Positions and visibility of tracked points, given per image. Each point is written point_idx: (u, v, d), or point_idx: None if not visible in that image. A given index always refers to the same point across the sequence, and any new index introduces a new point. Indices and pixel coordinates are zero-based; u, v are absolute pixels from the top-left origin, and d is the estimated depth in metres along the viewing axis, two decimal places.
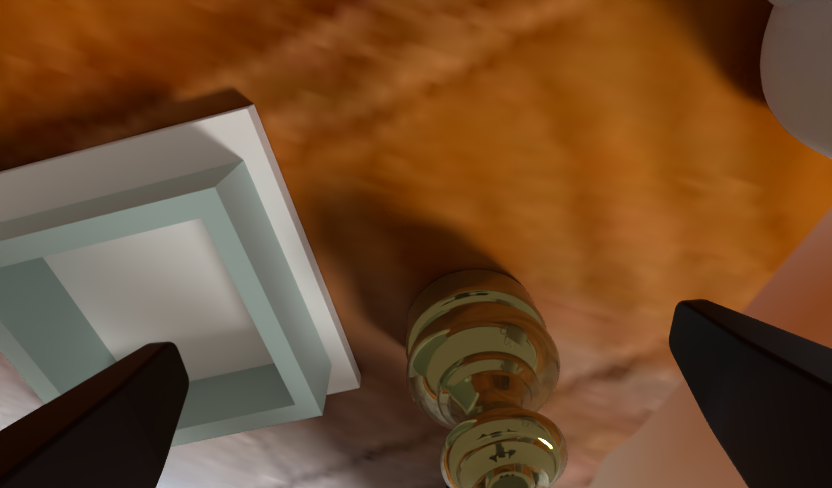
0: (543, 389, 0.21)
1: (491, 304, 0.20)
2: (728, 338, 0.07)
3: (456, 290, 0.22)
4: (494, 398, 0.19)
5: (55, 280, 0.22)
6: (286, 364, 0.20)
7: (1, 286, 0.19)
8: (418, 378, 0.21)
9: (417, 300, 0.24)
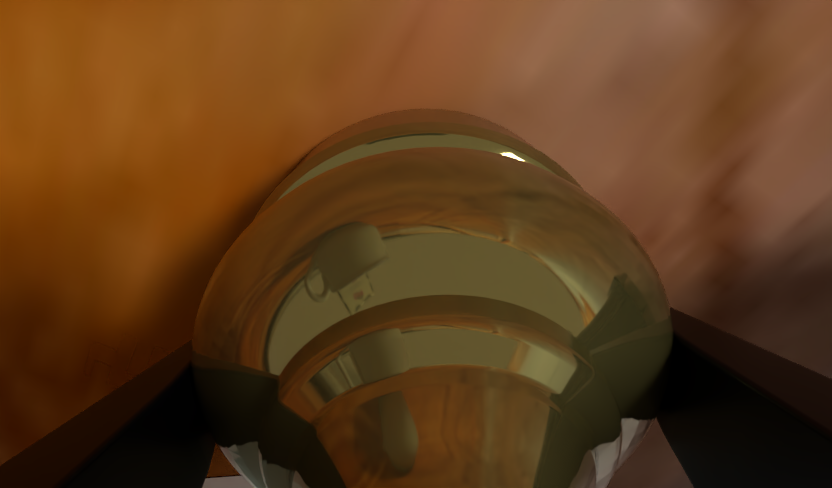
0: (491, 265, 0.05)
1: None
2: (676, 342, 0.07)
3: None
4: None
5: None
6: None
7: None
8: None
9: None
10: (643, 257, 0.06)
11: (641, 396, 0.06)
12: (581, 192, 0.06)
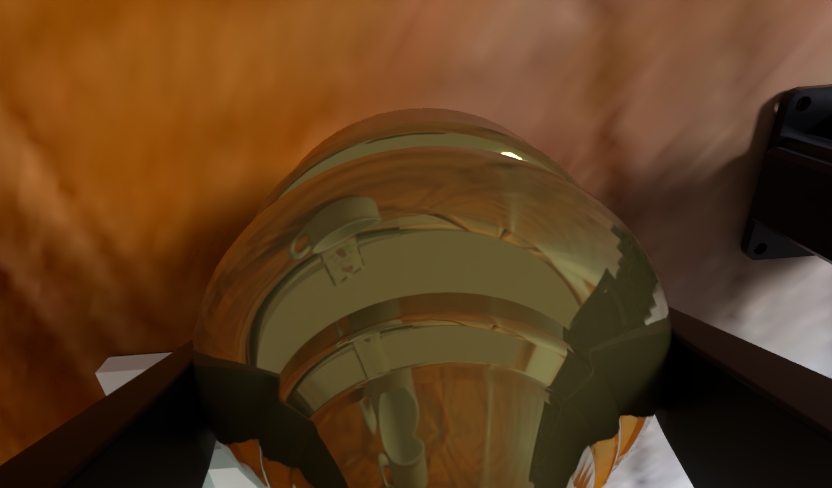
0: (490, 263, 0.05)
1: None
2: (676, 342, 0.07)
3: None
4: None
5: None
6: None
7: None
8: None
9: None
10: (641, 255, 0.06)
11: (639, 393, 0.06)
12: (580, 191, 0.06)
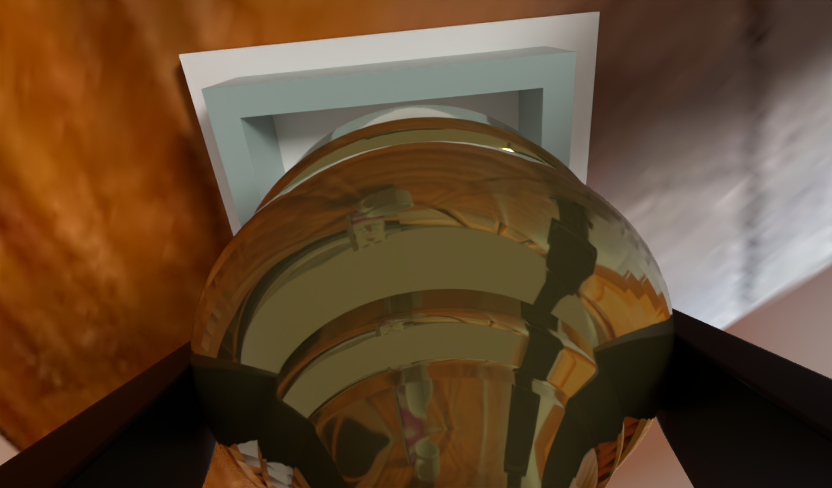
0: (492, 259, 0.05)
1: None
2: (676, 342, 0.07)
3: None
4: None
5: None
6: (467, 79, 0.14)
7: None
8: None
9: None
10: (644, 252, 0.06)
11: (642, 391, 0.06)
12: (582, 186, 0.06)
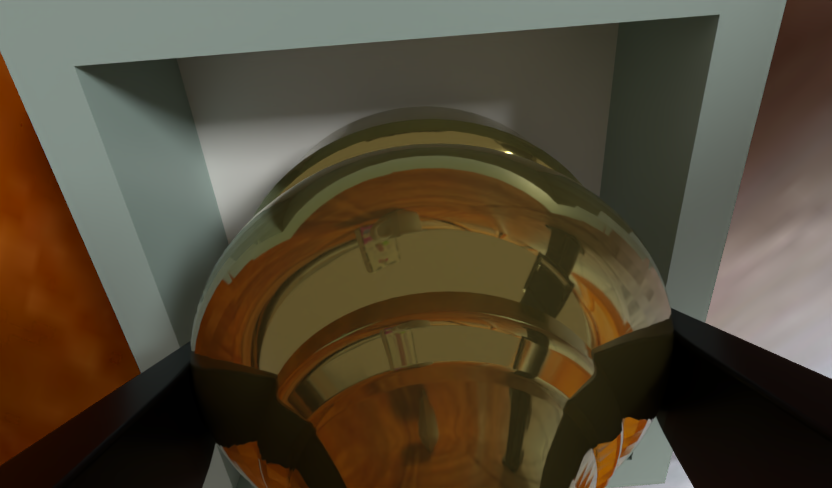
0: (491, 262, 0.05)
1: None
2: (676, 342, 0.07)
3: None
4: None
5: None
6: None
7: None
8: None
9: None
10: (644, 254, 0.06)
11: (642, 393, 0.06)
12: (581, 188, 0.06)
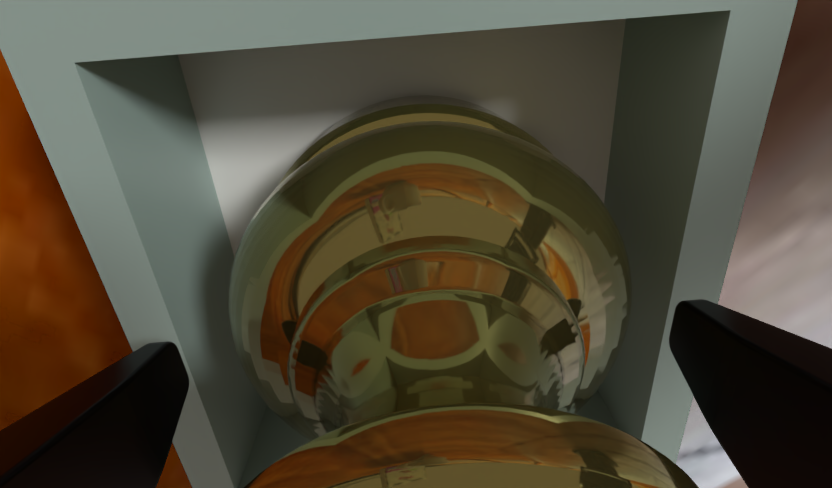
0: (477, 212, 0.06)
1: None
2: (728, 338, 0.07)
3: None
4: None
5: None
6: None
7: None
8: None
9: None
10: (603, 211, 0.07)
11: (603, 329, 0.08)
12: (551, 157, 0.07)
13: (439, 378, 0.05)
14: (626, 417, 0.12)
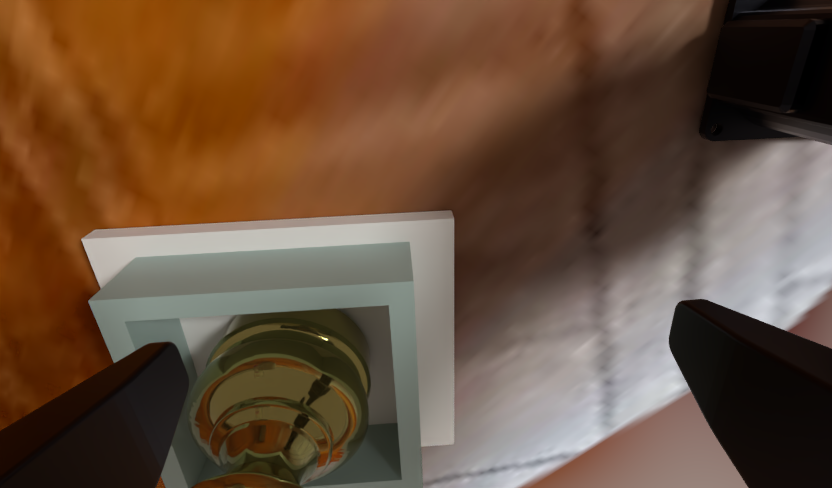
0: (283, 387, 0.17)
1: None
2: (728, 338, 0.07)
3: None
4: None
5: None
6: (323, 298, 0.17)
7: None
8: None
9: None
10: (343, 379, 0.18)
11: (346, 426, 0.18)
12: (320, 359, 0.18)
13: (255, 456, 0.16)
14: None
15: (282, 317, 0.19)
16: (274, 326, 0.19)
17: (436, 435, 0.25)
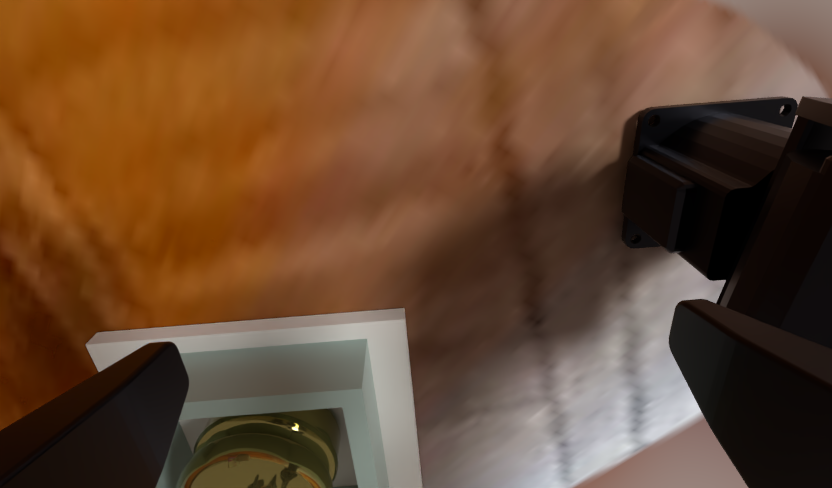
0: (252, 480, 0.20)
1: None
2: (728, 338, 0.07)
3: None
4: None
5: None
6: (285, 403, 0.20)
7: None
8: None
9: None
10: (306, 470, 0.21)
11: None
12: (285, 454, 0.20)
13: None
14: None
15: None
16: (249, 418, 0.22)
17: None
